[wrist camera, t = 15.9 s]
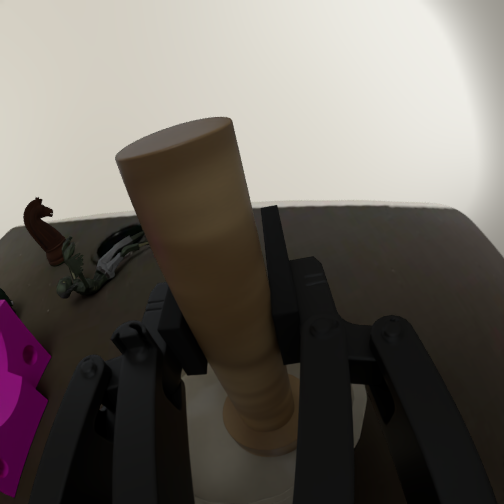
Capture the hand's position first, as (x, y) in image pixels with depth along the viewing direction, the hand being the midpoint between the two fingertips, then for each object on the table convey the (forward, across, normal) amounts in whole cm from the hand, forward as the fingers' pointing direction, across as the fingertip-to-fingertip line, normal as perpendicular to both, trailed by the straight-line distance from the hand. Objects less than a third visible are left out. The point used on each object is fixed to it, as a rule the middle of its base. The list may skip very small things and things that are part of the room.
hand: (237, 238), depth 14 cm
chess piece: (+19, -30, -10) cm, 37 cm away
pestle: (-5, 0, -8) cm, 10 cm away
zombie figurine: (+13, -17, -10) cm, 24 cm away
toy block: (-6, -22, -10) cm, 25 cm away
